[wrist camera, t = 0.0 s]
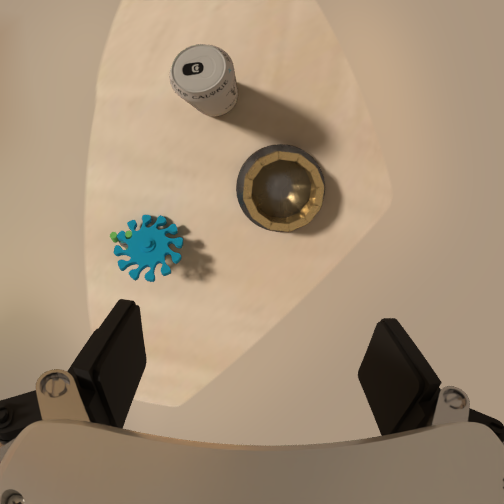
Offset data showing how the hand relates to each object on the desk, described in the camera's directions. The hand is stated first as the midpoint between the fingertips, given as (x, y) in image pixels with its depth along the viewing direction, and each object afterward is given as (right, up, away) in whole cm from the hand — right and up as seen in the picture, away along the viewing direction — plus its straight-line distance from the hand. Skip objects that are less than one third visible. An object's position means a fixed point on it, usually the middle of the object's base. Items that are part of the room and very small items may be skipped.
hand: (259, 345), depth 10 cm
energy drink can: (-5, +25, +24) cm, 35 cm away
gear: (-15, +6, +31) cm, 35 cm away
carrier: (+4, +12, +29) cm, 32 cm away
